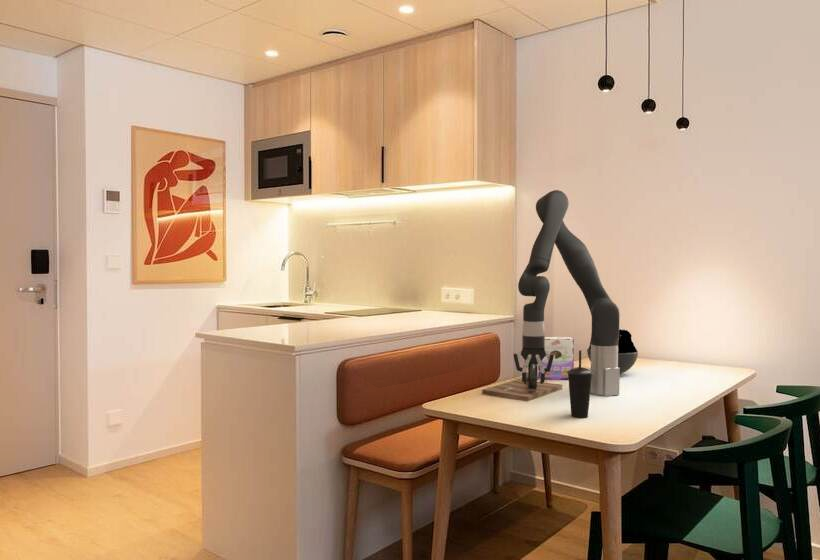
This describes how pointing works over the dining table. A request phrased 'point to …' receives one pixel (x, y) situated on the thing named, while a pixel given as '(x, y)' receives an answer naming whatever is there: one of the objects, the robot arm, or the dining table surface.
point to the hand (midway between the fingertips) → (533, 383)
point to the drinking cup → (579, 390)
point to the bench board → (521, 390)
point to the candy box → (558, 357)
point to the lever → (532, 377)
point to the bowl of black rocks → (623, 351)
